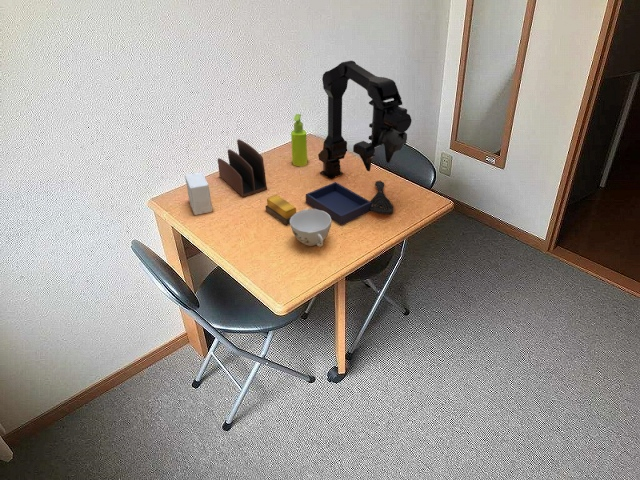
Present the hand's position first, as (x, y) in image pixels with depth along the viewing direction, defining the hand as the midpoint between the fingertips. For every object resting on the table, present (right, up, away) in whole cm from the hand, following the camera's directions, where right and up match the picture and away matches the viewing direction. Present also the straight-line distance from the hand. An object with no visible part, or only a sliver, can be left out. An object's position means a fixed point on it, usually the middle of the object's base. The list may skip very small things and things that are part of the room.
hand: (378, 166), depth 160 cm
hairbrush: (+2, -10, +10) cm, 15 cm away
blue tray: (-13, -13, +7) cm, 19 cm away
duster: (-32, -16, +3) cm, 36 cm away
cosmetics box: (-61, -13, +8) cm, 62 cm away
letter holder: (-48, -3, +22) cm, 53 cm away
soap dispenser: (-27, +6, +34) cm, 44 cm away
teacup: (-22, -25, -10) cm, 35 cm away
